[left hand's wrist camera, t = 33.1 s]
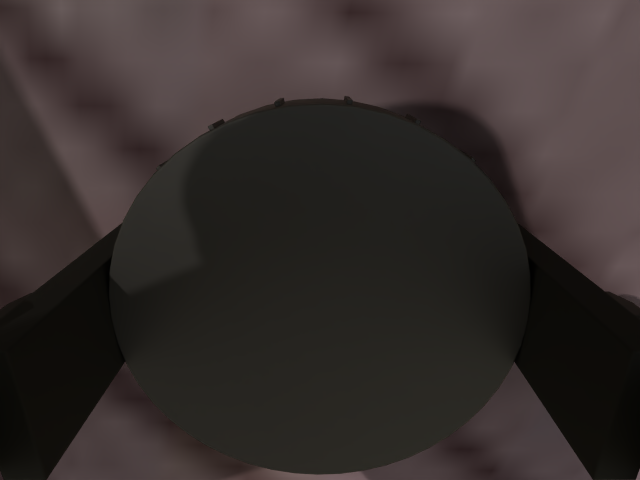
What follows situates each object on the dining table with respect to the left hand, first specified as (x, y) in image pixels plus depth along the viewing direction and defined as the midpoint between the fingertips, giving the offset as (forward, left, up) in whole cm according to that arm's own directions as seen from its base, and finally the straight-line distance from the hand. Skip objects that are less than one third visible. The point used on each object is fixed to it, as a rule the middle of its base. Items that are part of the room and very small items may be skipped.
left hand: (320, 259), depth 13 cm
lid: (0, 0, +3) cm, 3 cm away
